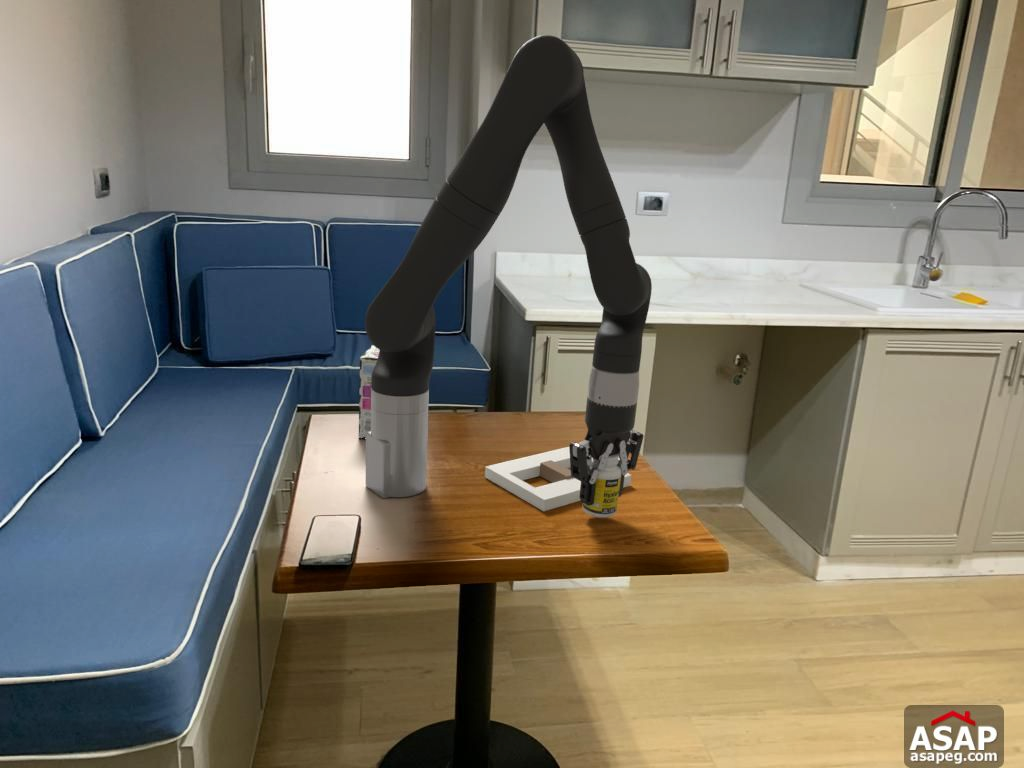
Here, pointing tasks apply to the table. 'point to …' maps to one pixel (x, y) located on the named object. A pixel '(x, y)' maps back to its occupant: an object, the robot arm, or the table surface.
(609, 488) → the supplement bottle
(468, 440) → the table surface
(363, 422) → the candy bar box
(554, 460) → the white frame
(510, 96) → the robot arm
